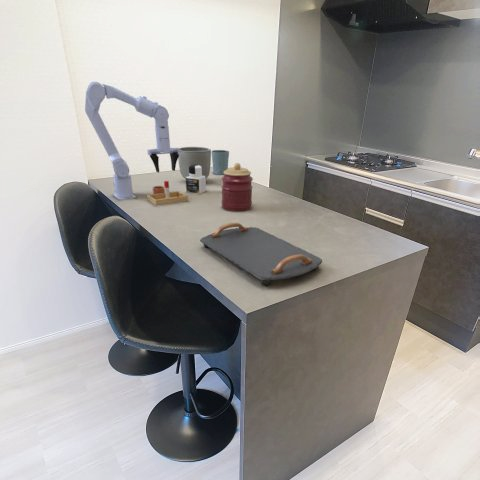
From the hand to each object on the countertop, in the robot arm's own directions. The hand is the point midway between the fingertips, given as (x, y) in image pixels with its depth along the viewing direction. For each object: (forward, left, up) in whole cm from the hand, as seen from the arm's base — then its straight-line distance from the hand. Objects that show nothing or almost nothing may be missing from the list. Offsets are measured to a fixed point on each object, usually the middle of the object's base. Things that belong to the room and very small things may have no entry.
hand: (165, 171), depth 161 cm
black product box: (+2, +14, -11) cm, 18 cm away
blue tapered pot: (-31, +46, -11) cm, 56 cm away
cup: (+2, -5, -10) cm, 12 cm away
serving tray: (+81, -4, -11) cm, 82 cm away
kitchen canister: (+33, +18, -11) cm, 39 cm away
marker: (+11, -4, -10) cm, 15 cm away
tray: (+11, -4, -10) cm, 16 cm away
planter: (-17, +23, -11) cm, 31 cm away
